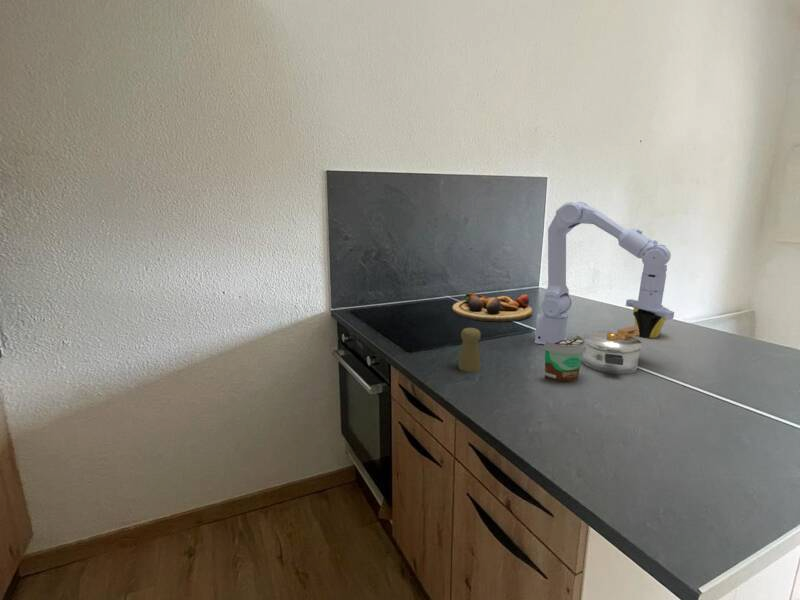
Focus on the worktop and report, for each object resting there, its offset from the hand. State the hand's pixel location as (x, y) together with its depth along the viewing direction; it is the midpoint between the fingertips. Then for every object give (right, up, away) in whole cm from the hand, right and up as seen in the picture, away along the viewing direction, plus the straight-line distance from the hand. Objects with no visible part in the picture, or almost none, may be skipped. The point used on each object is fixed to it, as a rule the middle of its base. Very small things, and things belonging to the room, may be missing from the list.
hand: (644, 337), depth 120 cm
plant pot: (+16, -2, +26) cm, 30 cm away
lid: (-8, -1, 0) cm, 8 cm away
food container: (-26, -10, -10) cm, 29 cm away
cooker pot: (-10, -8, 0) cm, 13 cm away
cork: (-50, -8, -4) cm, 51 cm away
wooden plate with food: (-31, +5, +55) cm, 63 cm away
